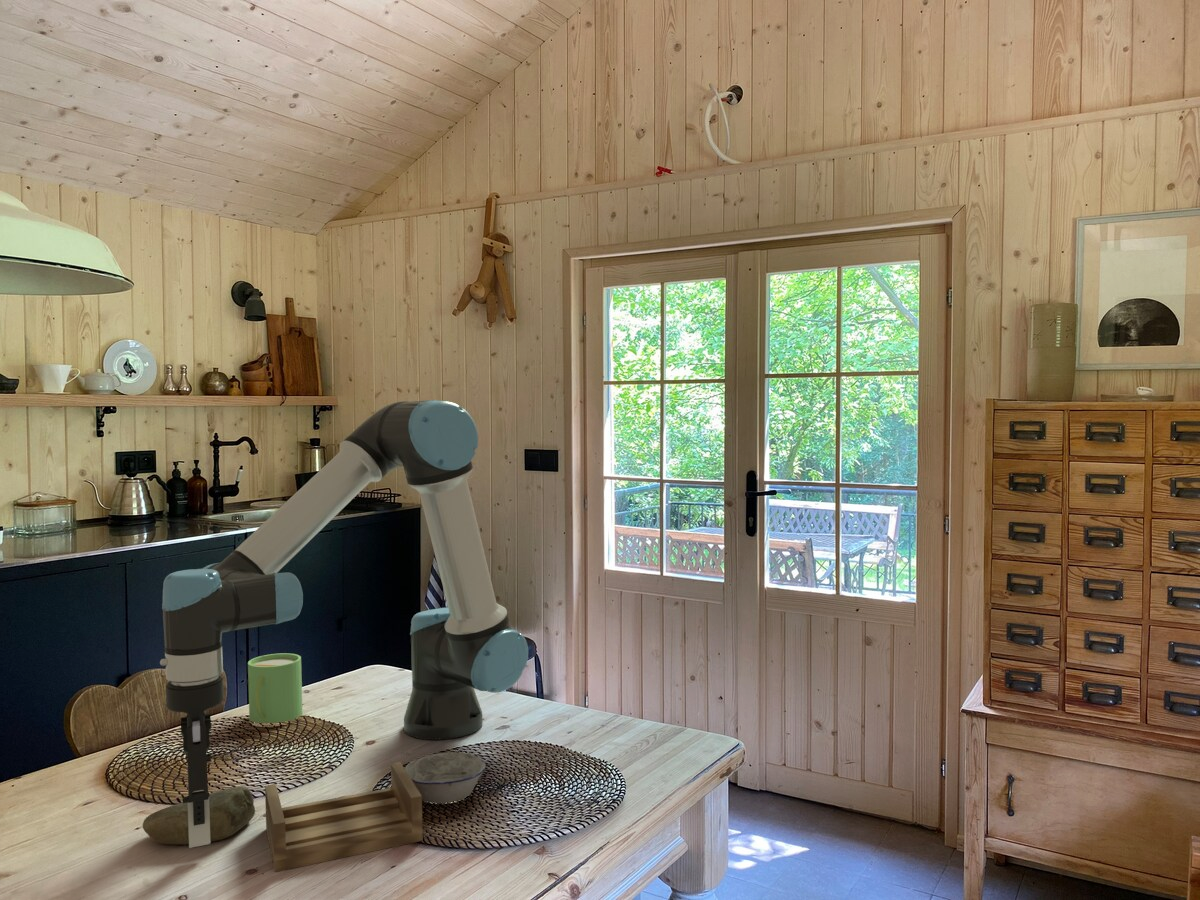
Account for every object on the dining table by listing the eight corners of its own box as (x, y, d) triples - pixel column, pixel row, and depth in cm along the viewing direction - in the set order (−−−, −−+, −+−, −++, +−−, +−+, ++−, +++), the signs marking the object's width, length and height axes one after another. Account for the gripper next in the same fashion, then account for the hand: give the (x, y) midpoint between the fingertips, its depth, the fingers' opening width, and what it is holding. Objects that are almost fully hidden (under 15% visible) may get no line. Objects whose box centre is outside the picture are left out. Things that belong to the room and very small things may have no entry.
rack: (401, 802, 142) (400, 762, 141) (422, 840, 129) (421, 795, 129) (266, 828, 133) (264, 785, 133) (274, 872, 120) (273, 824, 120)
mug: (263, 709, 188) (262, 652, 187) (311, 711, 186) (309, 653, 186) (231, 730, 175) (229, 670, 175) (281, 732, 174) (279, 671, 173)
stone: (264, 830, 130) (225, 778, 128) (172, 889, 127) (131, 836, 125) (266, 801, 138) (230, 751, 136) (180, 855, 135) (142, 805, 133)
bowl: (431, 820, 135) (430, 788, 135) (389, 794, 145) (388, 764, 145) (501, 795, 144) (501, 765, 144) (458, 772, 154) (457, 744, 153)
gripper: (167, 661, 139) (171, 798, 140) (163, 706, 117) (169, 869, 118) (219, 655, 142) (224, 789, 143) (226, 698, 120) (231, 857, 121)
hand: (199, 826), depth 130 cm, fingers open, 12 cm apart
